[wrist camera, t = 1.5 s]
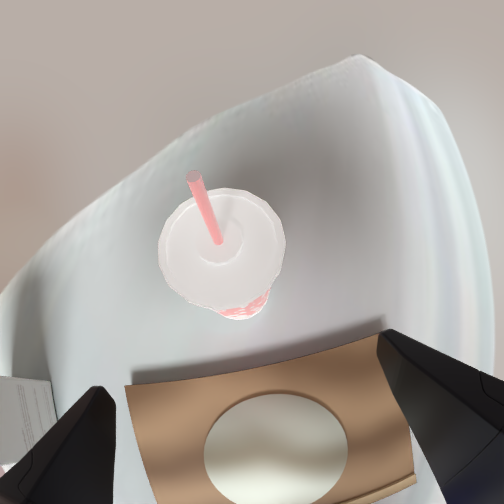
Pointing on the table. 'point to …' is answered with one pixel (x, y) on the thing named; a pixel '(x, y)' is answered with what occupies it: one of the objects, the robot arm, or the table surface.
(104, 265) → the table surface
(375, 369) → the board
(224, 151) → the table surface
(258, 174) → the table surface
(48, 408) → the supplement box
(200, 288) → the beverage cup
